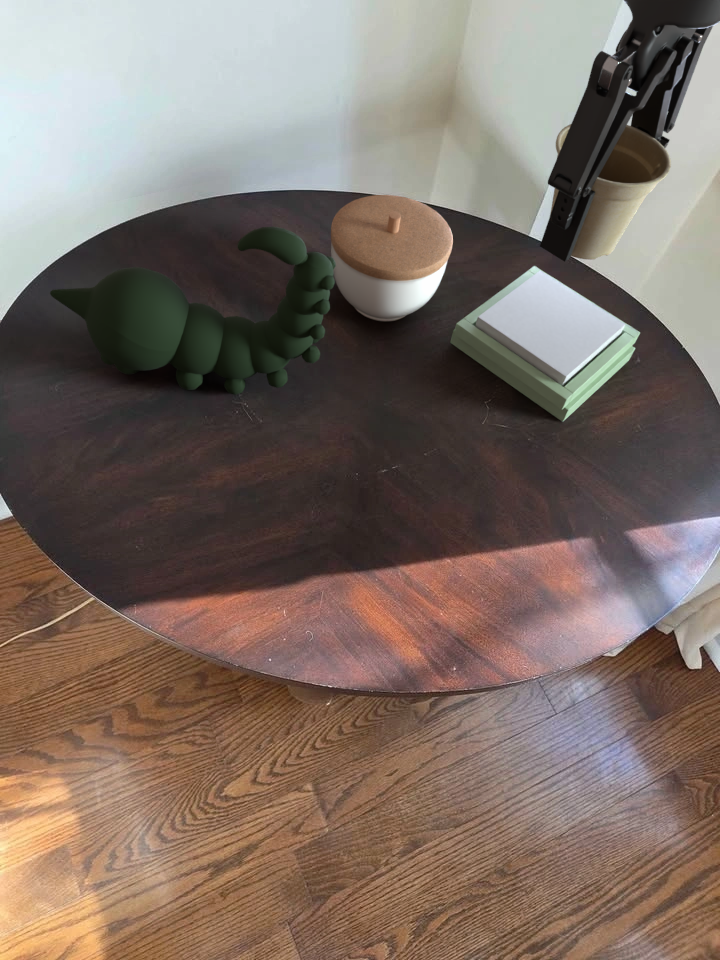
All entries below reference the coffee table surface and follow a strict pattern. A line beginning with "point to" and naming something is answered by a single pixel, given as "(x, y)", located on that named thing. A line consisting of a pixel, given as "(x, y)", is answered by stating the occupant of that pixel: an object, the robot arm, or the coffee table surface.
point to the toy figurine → (207, 320)
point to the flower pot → (618, 190)
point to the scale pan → (550, 327)
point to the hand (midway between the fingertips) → (583, 230)
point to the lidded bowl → (389, 254)
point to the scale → (531, 379)
